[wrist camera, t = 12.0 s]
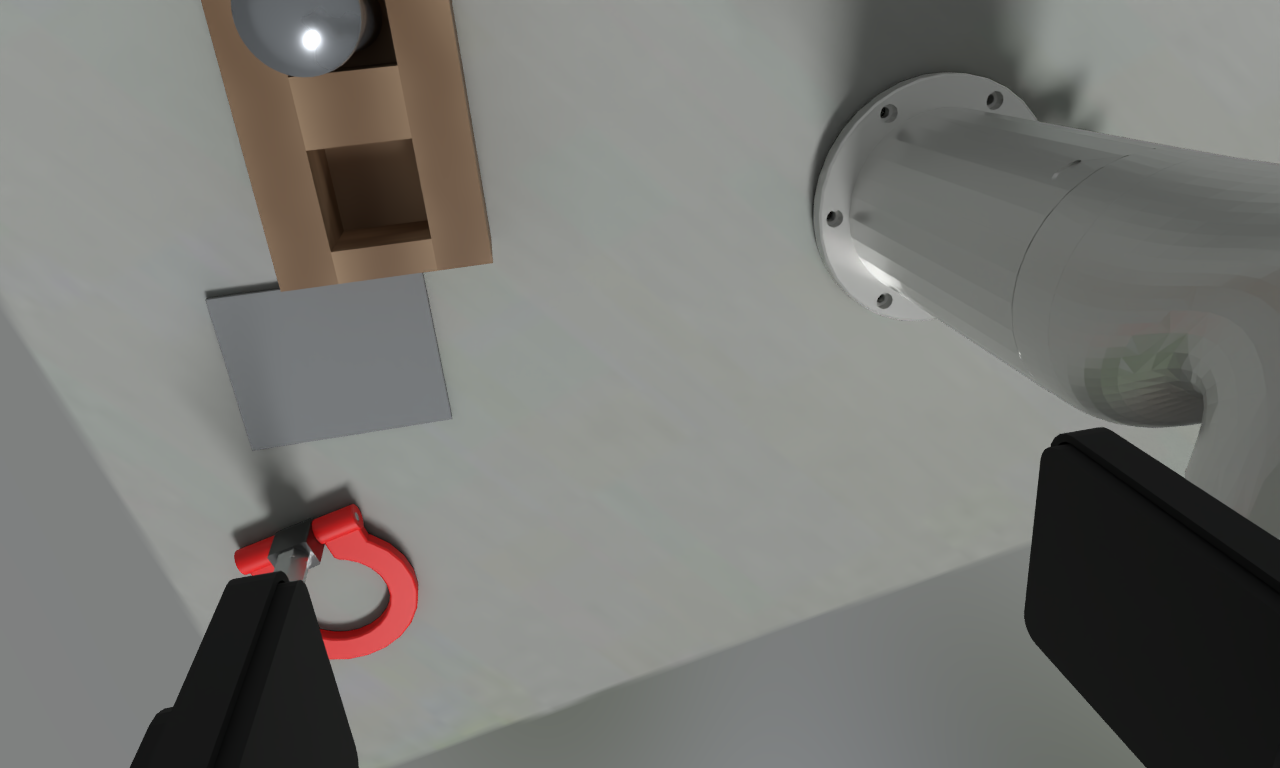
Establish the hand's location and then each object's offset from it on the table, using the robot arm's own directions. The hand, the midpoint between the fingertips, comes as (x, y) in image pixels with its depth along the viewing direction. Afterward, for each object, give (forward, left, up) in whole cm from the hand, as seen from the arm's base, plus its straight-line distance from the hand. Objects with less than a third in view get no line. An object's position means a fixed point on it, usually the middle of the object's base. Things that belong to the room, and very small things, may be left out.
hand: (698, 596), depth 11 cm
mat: (+11, +8, -33) cm, 36 cm away
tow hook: (+14, +21, -34) cm, 42 cm away
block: (+7, -4, -33) cm, 34 cm away
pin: (+7, -7, -33) cm, 34 cm away
